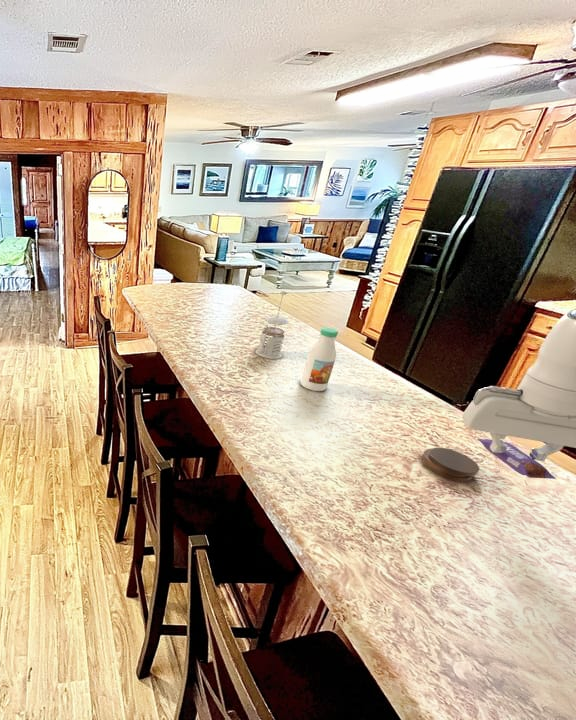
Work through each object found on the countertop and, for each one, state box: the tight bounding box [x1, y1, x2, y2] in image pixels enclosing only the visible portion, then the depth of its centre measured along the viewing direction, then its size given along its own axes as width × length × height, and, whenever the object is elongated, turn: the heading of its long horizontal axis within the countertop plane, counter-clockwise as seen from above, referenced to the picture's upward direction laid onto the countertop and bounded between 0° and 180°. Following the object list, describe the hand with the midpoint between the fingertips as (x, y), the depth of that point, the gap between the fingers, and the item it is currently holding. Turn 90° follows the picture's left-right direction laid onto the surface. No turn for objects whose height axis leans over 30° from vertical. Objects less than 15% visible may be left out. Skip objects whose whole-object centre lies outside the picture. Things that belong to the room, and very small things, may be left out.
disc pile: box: [422, 447, 480, 483], centre depth 92 cm, size 10×10×3 cm
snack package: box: [477, 438, 557, 480], centre depth 76 cm, size 12×2×5 cm
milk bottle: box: [300, 327, 339, 392], centre depth 124 cm, size 8×8×20 cm
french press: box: [255, 290, 289, 360], centre depth 145 cm, size 10×12×25 cm
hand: (515, 454), depth 76 cm, fingers closed on snack package, 5 cm apart
